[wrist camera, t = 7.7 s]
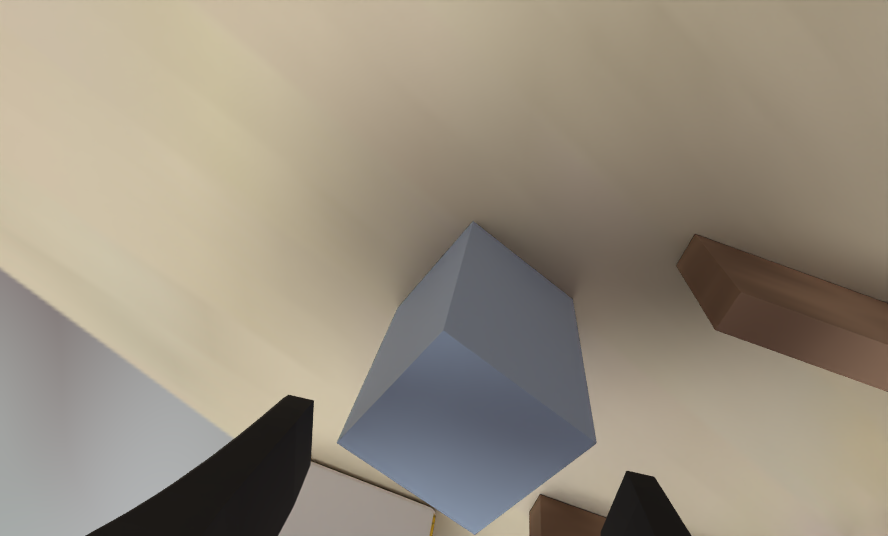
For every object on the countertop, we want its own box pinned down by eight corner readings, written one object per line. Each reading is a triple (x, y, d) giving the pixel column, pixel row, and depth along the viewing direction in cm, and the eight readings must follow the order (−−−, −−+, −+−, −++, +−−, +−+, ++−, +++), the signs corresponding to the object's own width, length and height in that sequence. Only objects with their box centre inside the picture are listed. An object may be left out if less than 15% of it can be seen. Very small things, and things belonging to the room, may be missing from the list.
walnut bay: (1138, 393, 17) (1304, 494, 13) (854, 627, 23) (913, 738, 19) (695, 234, 17) (740, 291, 13) (529, 512, 23) (529, 603, 19)
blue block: (572, 299, 18) (596, 443, 12) (491, 375, 20) (474, 535, 14) (473, 220, 18) (443, 330, 11) (397, 307, 20) (336, 442, 13)
